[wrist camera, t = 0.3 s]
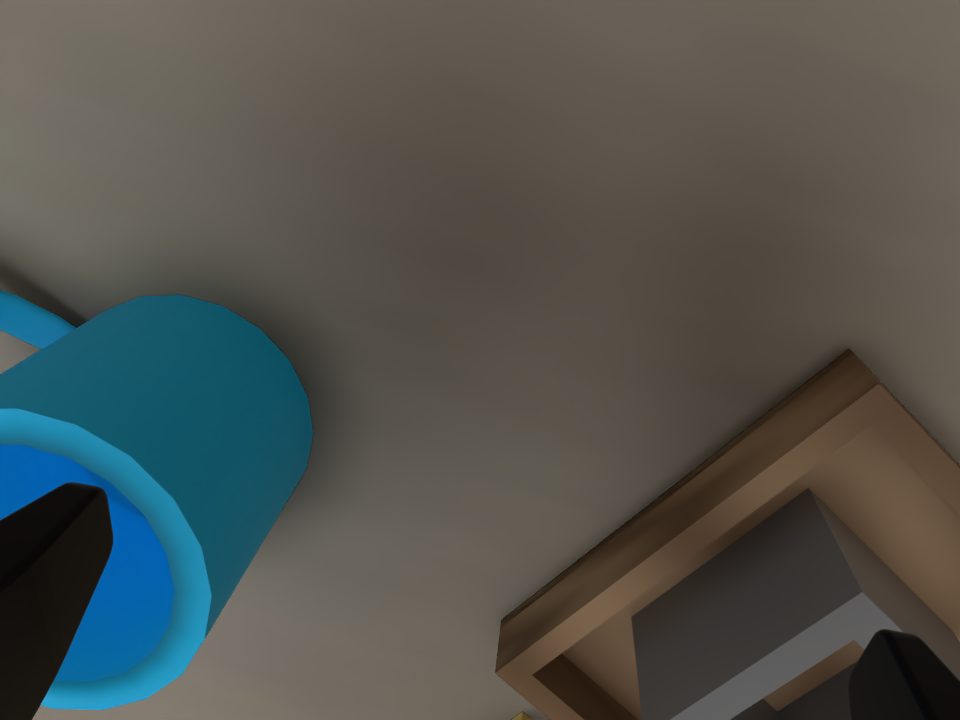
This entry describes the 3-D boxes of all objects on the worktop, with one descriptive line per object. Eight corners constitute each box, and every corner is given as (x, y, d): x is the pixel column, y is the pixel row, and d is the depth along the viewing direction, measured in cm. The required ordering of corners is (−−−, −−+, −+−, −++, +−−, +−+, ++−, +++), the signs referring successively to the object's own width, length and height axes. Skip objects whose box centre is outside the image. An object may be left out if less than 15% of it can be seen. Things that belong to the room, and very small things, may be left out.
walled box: (737, 824, 31) (751, 889, 28) (501, 620, 28) (494, 673, 26) (1097, 611, 26) (1148, 669, 24) (849, 348, 24) (879, 383, 22)
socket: (772, 744, 29) (811, 882, 24) (631, 616, 27) (643, 736, 23) (953, 632, 26) (1035, 761, 22) (808, 487, 25) (862, 591, 20)
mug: (365, 415, 26) (282, 572, 19) (218, 570, 29) (94, 763, 21) (41, 147, 24) (-201, 203, 17) (-85, 343, 27) (-341, 467, 19)
